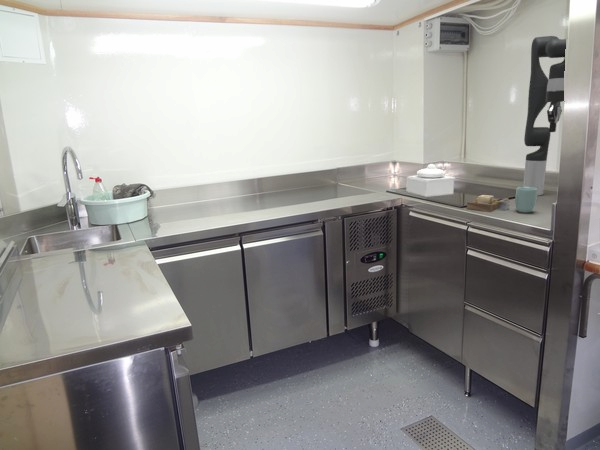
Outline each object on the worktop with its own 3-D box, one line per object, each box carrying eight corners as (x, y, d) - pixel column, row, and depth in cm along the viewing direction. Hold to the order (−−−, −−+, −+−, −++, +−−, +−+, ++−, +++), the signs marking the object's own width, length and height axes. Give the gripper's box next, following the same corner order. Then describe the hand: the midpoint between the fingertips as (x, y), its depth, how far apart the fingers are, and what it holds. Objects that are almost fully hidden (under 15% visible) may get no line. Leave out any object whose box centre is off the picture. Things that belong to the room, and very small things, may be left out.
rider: (481, 205, 194) (482, 194, 192) (492, 207, 190) (493, 196, 189) (476, 207, 190) (477, 196, 189) (488, 209, 187) (489, 197, 186)
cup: (537, 214, 176) (540, 189, 173) (517, 213, 177) (519, 189, 175) (531, 210, 183) (534, 186, 181) (512, 209, 185) (514, 186, 182)
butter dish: (406, 192, 235) (407, 163, 231) (433, 189, 241) (434, 161, 237) (425, 197, 219) (427, 166, 215) (454, 194, 225) (456, 163, 221)
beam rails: (486, 201, 204) (486, 194, 203) (508, 203, 197) (509, 196, 196) (466, 209, 189) (467, 201, 188) (490, 211, 182) (490, 204, 181)
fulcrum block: (501, 208, 188) (502, 200, 188) (508, 208, 186) (509, 201, 186) (498, 209, 186) (498, 201, 185) (505, 210, 184) (506, 202, 183)
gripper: (551, 91, 188) (547, 131, 192) (542, 90, 179) (537, 132, 183) (571, 89, 183) (566, 131, 187) (562, 89, 174) (557, 132, 178)
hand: (552, 132), depth 185 cm, fingers closed
